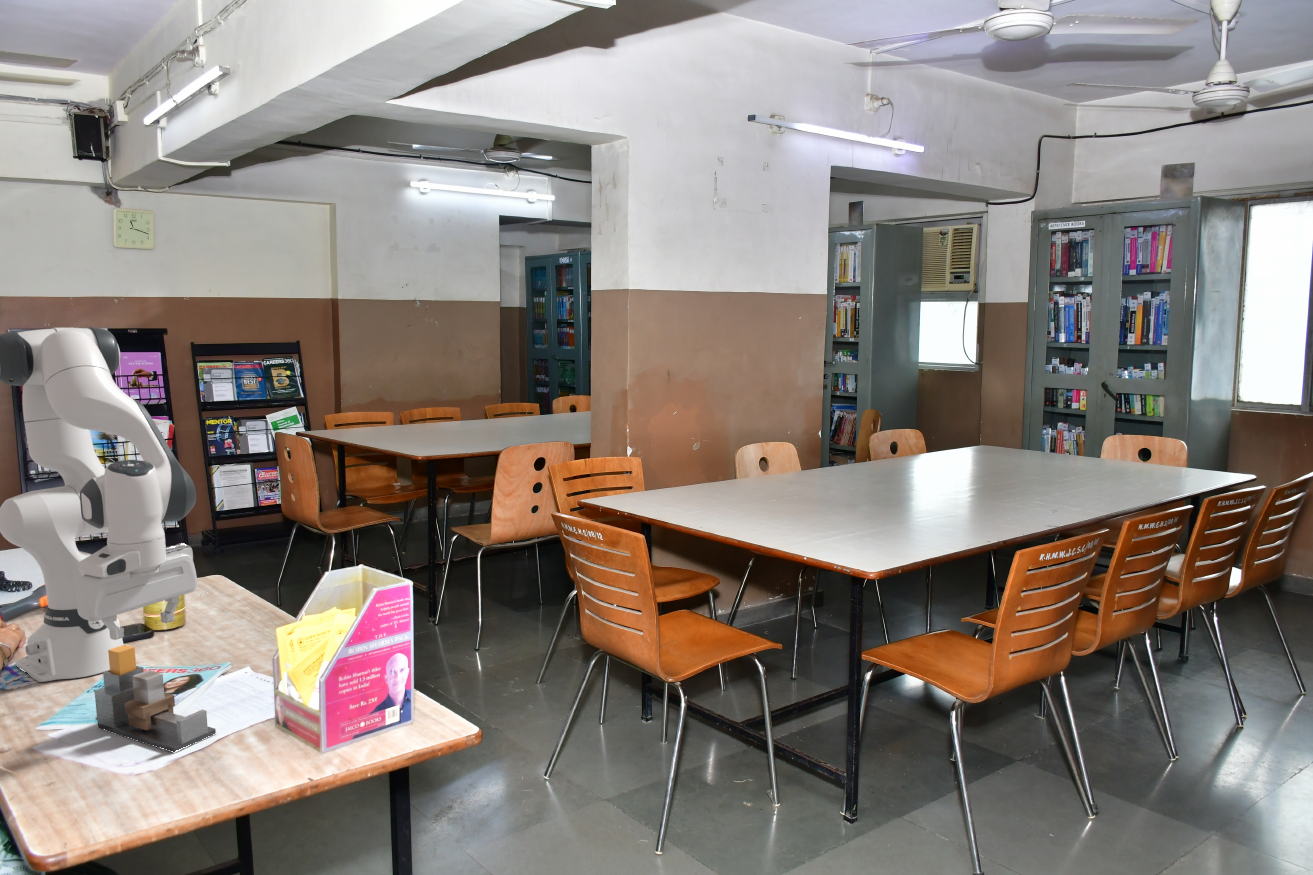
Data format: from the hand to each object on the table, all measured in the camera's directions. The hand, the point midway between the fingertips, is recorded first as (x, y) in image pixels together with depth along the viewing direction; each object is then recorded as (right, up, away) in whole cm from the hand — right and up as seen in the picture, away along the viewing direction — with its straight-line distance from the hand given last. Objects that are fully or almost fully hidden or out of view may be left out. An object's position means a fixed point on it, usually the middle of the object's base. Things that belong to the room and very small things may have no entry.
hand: (143, 629), depth 164 cm
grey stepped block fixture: (+1, -18, +2) cm, 19 cm away
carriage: (0, -17, +2) cm, 17 cm away
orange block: (-6, -9, +4) cm, 12 cm away
